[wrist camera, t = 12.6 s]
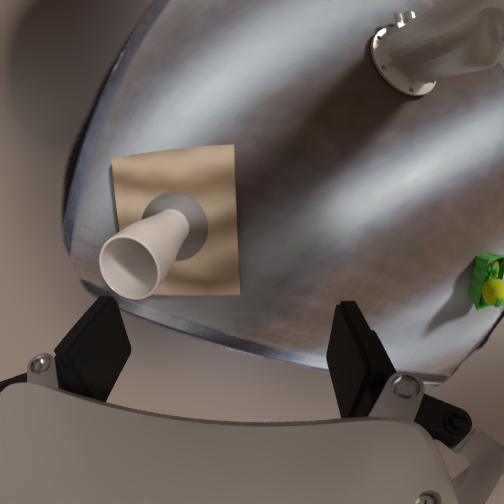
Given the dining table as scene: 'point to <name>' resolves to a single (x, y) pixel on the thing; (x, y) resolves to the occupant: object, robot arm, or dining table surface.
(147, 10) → the dining table surface
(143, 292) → the drinking glass
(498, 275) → the fruit basket
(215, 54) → the dining table surface
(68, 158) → the dining table surface
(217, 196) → the serving board
